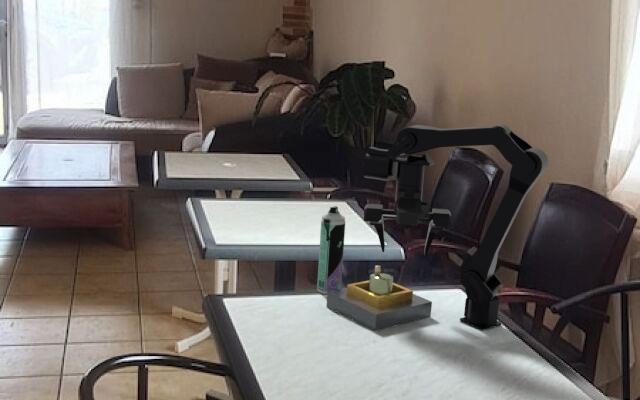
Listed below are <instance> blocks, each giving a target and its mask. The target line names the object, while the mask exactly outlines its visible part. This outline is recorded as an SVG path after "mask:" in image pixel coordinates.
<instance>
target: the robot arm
mask: <svg viewBox="0 0 640 400" xmlns="http://www.w3.org/2000/svg"><path fill="white" fill-rule="evenodd" d="M474 146H475V147H477V146H494V147H495V148H496V150H498V152H499V153H500V154H501V155H502V157H503V158H504V159H505V161H506V162H508V163H509V164H510V165H511V169H510V172H509V175H508V176H509V177H508V183H507V188H506V190H505V193H504V195H503V198H502V199H501V201H500V203H499V205H498V207H497V209H496V211H495V213H494V216H493V218H492V219H491V221H490V224H489V226H488V228H487V230H486V232H485V233H484V236H483V238H482V240H481V242H480V245H478V248H477V247H475V246H473V247H472V248H471V249H468V250H467V252H465V254H464V258H463V261H462V264H461V265H460V266H458V268H457V269H458V270H459V274H458V279H459V282H460V284H461V285H462V288H464V289H465V293H466V298H465V303H464V310H463V311H464V312H463V313H464V314H463V316H464V317H460V319H459V321H460V322H462V323H464V324H466V325H469V326H472V327H473V328H475V329H478V330H480V331H485V330H488V329H493V328H496V327H499V326H502V322H501V321H498V316H499V309H500V308H499V307H500V300H501V299H500V297H498V296H497V295H498V294H499V293H500V291H501V290H502V288H503V285H504V284H503V282H501V280H500V279H499V277H498V276H497V274H496V273H495V270H496V267H497V262H498V257H499V252H500V249H501V247H502V245H503V243H504V241H505V239H506V237H507V235H508V233H509V231H510V229H511V227H512V225H513V224H514V221H515V219H516V217H517V214H518V213H519V210H520V209H521V206H522V204H523V203H524V200H525V198H526V196H527V195H528V193H530V191H531V190H532V189H533V187H534V186H535V185H536V183H537V182H538V181H539V180H540V178H541V177H542V175H543V174H544V172H545V171H546V170H547V168H548V167H549V159H548V158H549V157H548V155H547V154H546V153H545V151H543V150H542V149H541V148H538V147H533V146H532V145H531V144H530V143H529V142H528V141H526V140H524V139H523V138H522V137H520V136H519V135H518V134H516V133H515V132H513V130H511V129H510V128H509V126H507V125H506V124H497V125H493V126H491V125H490V126H474V127H473V126H471V127H469V126H468V127H455V128H454V127H453V128H452V127H451V128H440V127H436V126H430V125H423V124H415V125H410V126H405V127H403V128H402V129H401V128H400V130H399V132H398V133H397V136H396V141H395V142H394V143H393V144H392V145H391V147H390V148H389V149H384V148H378V147H376V146H371V147H368V148H367V153H366V154H365V157H364V159H363V163H361V164H362V165H361V169H362V170H361V171H362V175H363V177H364V178H365V179H366V178H367V179H371V180H372V179H374V180H380V181H387V182H388V181H389V182H390V181H391V180H393V178H395V177H396V185H395V199H394V207H393V208H394V209H387V208H384V206H383V205H384V204H377V203H367V204H366V205H364V210H363V211H364V212H363V221H364V222H369V223H368V224H369V225H370V226H374V228H375V230H376V233H377V236H378V241H379V244H380V247H381V252H382V253H385V244H386V243H385V242H386V241H385V224H384V219H385V218H386V219H396V220H395V222H396V224H398V225H411V226H418V225H419V224H420V221H424V222H429V224H428V228H427V229H428V230H427V234H426V240H425V244H424V256H427V255H428V253H429V250H430V247H431V246H432V243H433V241H434V239H435V238H436V236H437V235H438V233H439V232H440V231H445V228H451V227H452V214H451V211H450V210H449V209H448V208H446V209H445V208H434V207H433V208H432V209H431V210H432V211H431V212H430V205H431V203H430V202H427V201H422V200H423V190H424V189H423V188H424V179H425V177H424V176H425V167H430V166H433V165H435V163H436V162H435V160H433V159H432V157H431V156H430V155H429V153H423V154H422V155H413V154H418V153H422V152H426V151H431V150H434V149H439V148H451V147H452V148H453V147H474ZM403 155H408V156H406V158H404V157H400V156H403Z"/></svg>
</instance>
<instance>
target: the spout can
mask: <svg viewBox="0 0 640 400" xmlns="http://www.w3.org/2000/svg"><path fill="white" fill-rule="evenodd" d="M369 280H370V282H369V292H370V293H373V294H375V295H377V296H382V295H387V294H392V286H393V283H394V276H393V275H391V274H388V273H381V265H375V266H374V273H372V274H370V275H369Z"/></svg>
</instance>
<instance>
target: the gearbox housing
mask: <svg viewBox="0 0 640 400" xmlns="http://www.w3.org/2000/svg"><path fill="white" fill-rule="evenodd" d="M369 282H370V279H369V280H364V281H360V282H353V283H348V284H347V287H343V288H342V287H341V289H337V290H332V291H328V292H327V294H326V295H327V297H326V308H328V307H329V308H328V309H330V308H331V310H332V309H333V311H334V310H335V311H334V312H336V311H337V312H336V313H338V312H339V313H338V314H340V313H341V314H340V315H342V314H343V316H344V315H345V316H344V317H346V316H347V317H346V318H348V317H349V319H350V318H351V319H350V320H352V319H353V321H355V322H356V321H357V323H359V324H361V325H363V326H364V327H366V328H368V329H370V330H373V331H380V330H384V329H389V328H392V327H397V326H399V325H400V326H401V325H405V324H408V323H412V322H416V321H420V320H421V321H422V320H425V319H428V318H431V316H432V307H433V306H432V305H433V302H432V301H431V300H429V299H426V298H424V297H421V296H419V295H418V294H415V293H414V290H412V289H409V288H407V287H404V286H402V285H400V284H397V283H395V282H393V286H392V294H387V295H382V296H377V295H375V294H373V293H370V292H369Z"/></svg>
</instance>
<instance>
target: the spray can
mask: <svg viewBox="0 0 640 400" xmlns="http://www.w3.org/2000/svg"><path fill="white" fill-rule="evenodd" d="M345 234H346V217H345V216H343V215H342V214H341V212H340V211H339V207H338V206H331V207H330V208H329V210H328V211H327V213H326V214H324V215H322V216H321V220H320V235H319V237H320V238H319V251H318V252H319V255H318V269H317V270H318V271H317V286H316V287H317V288H316V290H317V292H319V293H320V294H322V295H327V292H328V291H332V290H337V289H342V280H343V279H342V277H343V265H344V264H343V263H344V261H343V260H344V247H345V246H344V245H345Z"/></svg>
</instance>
